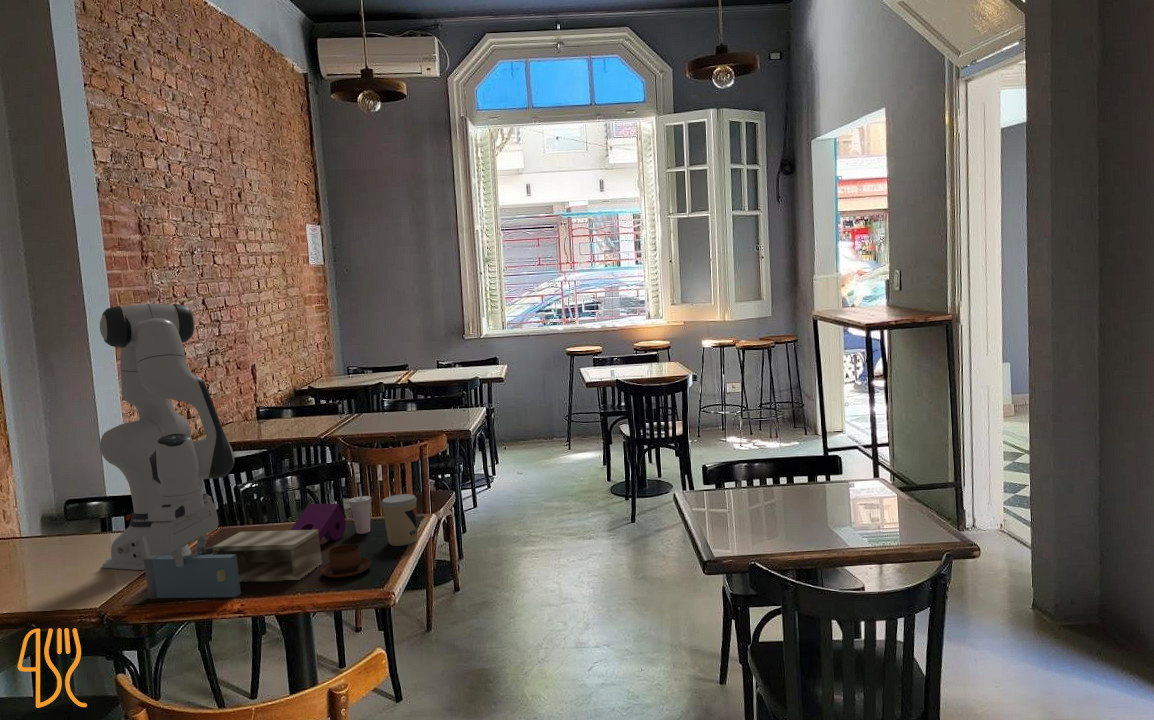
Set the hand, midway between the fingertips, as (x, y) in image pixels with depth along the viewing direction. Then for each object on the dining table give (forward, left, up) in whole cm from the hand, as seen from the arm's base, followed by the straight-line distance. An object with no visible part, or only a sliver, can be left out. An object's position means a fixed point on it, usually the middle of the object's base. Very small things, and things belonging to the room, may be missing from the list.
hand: (191, 560), depth 202 cm
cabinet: (+10, +12, -8) cm, 17 cm away
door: (0, -1, -8) cm, 8 cm away
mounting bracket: (+11, +36, -9) cm, 39 cm away
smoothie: (+21, +47, -9) cm, 52 cm away
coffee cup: (+37, +37, -9) cm, 54 cm away
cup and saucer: (+32, +13, -9) cm, 36 cm away
